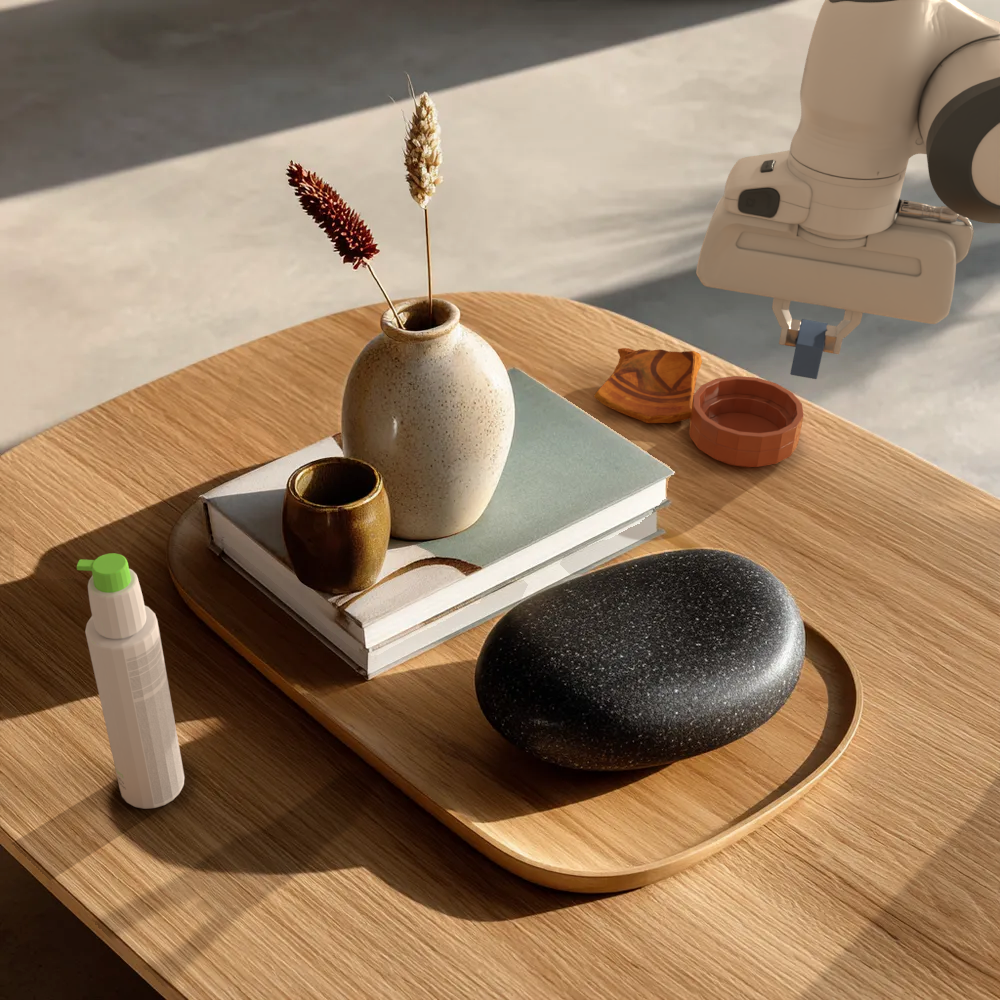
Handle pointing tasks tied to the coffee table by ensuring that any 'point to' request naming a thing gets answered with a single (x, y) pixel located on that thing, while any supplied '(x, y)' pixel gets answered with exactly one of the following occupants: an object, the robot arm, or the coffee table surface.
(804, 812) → the coffee table surface
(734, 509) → the coffee table surface
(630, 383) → the pottery fragment
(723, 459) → the bowl
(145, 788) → the bottle
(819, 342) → the eraser
